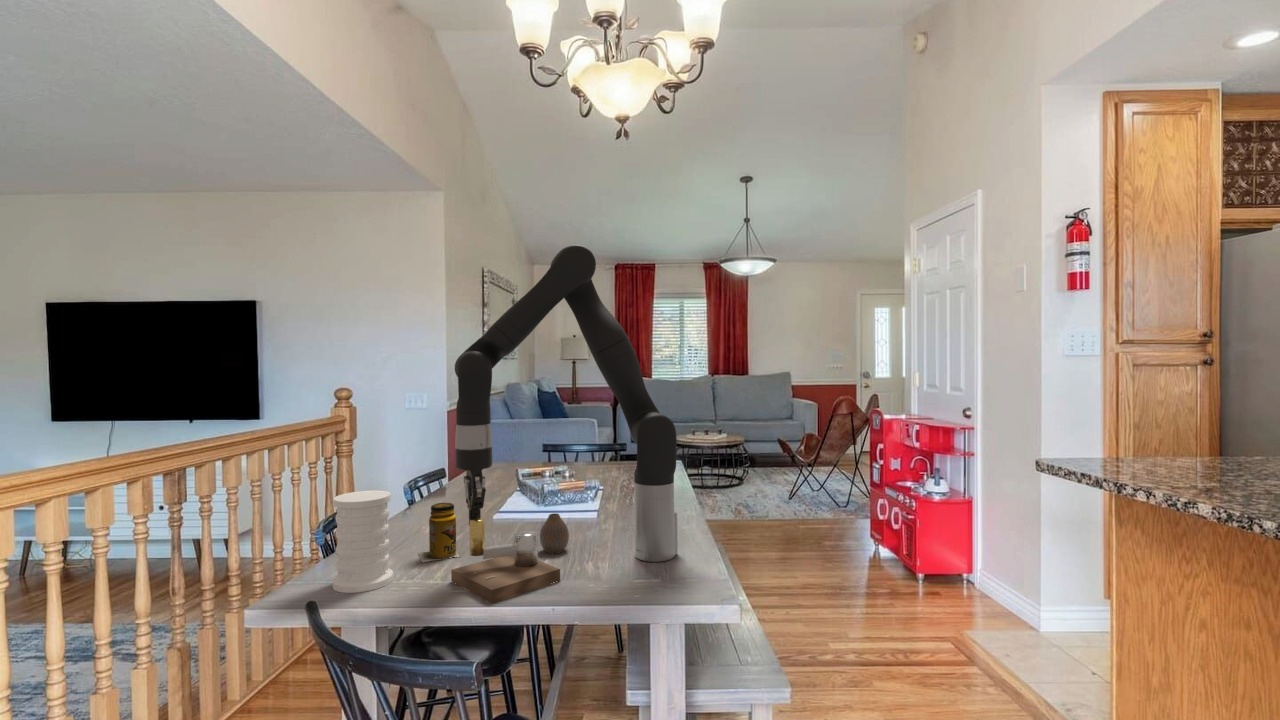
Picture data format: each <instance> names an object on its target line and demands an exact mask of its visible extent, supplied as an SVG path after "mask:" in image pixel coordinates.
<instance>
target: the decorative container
mask: <svg viewBox="0 0 1280 720" xmlns="http://www.w3.org/2000/svg"><path fill="white" fill-rule="evenodd" d="M391 500H392V495H391V492H390V491H387V490H376V489H375V490H373V489H371V490H370V489H369V490H359V491H352V492H346V493H343V494H338V495H336V496H335V497H333V507H335V508H336V515H335V522H336V525H337V529H336V531H335V537H336V539H337V545H336V547H335V552H336V555H337V560H336V564H335V567H336V570H337V575H336V576H335V577H333V579H332V589H333V590H334V591H335V592H338V593H343V594H353V593H354V594H355V593H364V592H369V591H373V590H377V589H380V588H384V587H385V586H387V585H389V584H390V583H392V582H393V580H394V577H395V576H394V570H392V569H391V568H389V563H390V559H391V558H390V555H389V554H390V553H389V547H390V540H389V538H388V537H389V535H388V533H389V531H390V525H389V523H388V519H389V515H390V511H389V508H388V502H390V501H391Z"/></svg>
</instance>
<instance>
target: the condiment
mask: <svg viewBox="0 0 1280 720" xmlns="http://www.w3.org/2000/svg"><path fill="white" fill-rule="evenodd" d="M428 522H429V524H428V526H429V528H428V529H429V531H428V532H429V533H428V534H429V535H428V536H429V537H428V539H429V550H428V551H421V552H418V556H419V558H420V561H421V563H426V562H434V561H443V560H444V559H445V560H447V559H446V558H450V557H451V558H452V557H453V556H455V557H456V556H457V558H461V556H460V553H458V551H457V516H456V514H455V505H454V503H452V502H438V503H434V504H432V505H430V516H429V519H428ZM441 559H443V560H441ZM452 559H453V558H452Z"/></svg>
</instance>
